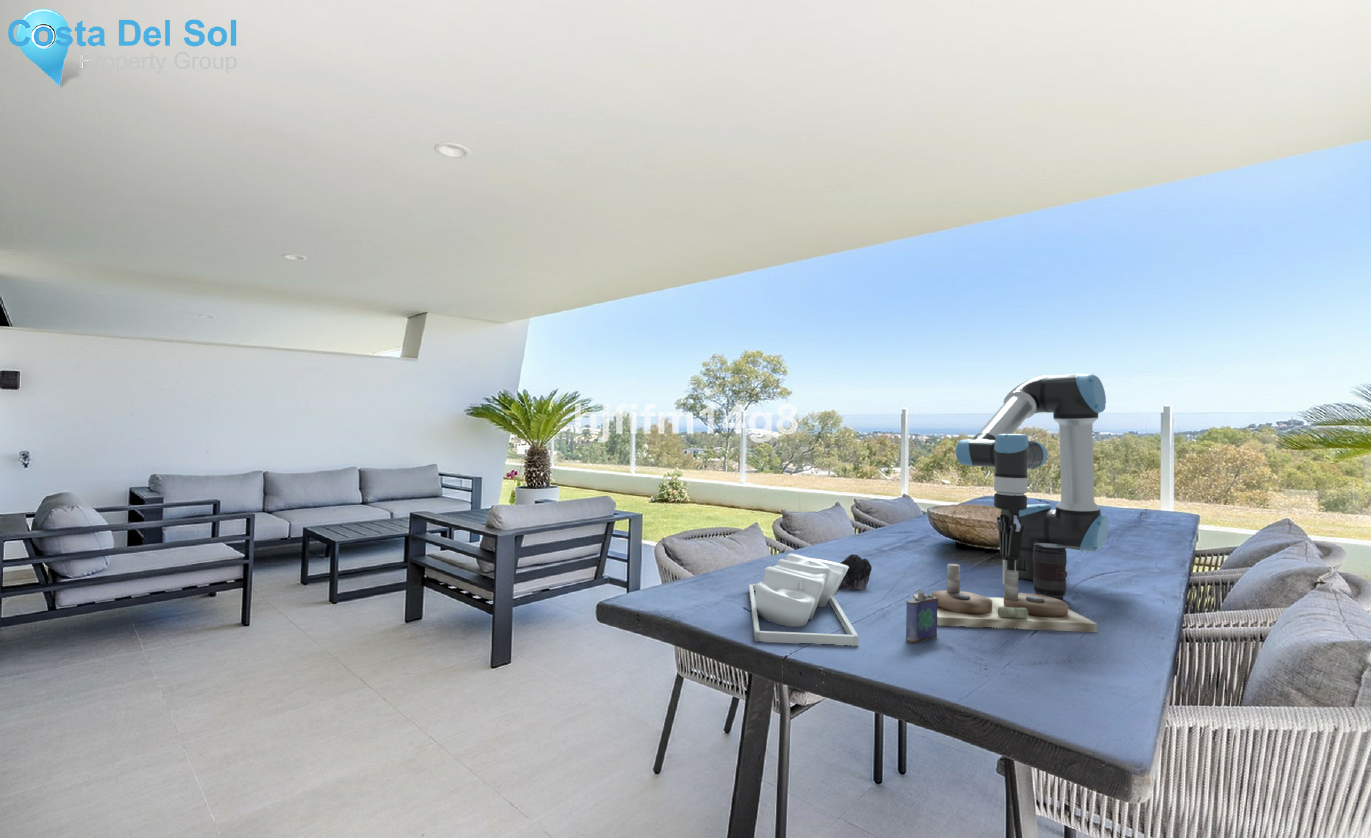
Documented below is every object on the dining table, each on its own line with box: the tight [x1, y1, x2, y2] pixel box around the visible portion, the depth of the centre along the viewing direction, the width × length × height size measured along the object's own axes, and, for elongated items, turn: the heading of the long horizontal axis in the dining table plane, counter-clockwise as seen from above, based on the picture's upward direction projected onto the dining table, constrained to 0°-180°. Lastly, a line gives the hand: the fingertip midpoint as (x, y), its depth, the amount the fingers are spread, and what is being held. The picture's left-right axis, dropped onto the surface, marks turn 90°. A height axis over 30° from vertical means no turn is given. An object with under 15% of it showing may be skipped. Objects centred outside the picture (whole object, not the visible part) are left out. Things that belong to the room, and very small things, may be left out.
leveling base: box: [912, 593, 1098, 633], centre depth 153 cm, size 36×20×4 cm, turn 86°
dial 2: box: [1003, 570, 1069, 616], centre depth 152 cm, size 14×14×9 cm
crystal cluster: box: [838, 554, 873, 590], centre depth 181 cm, size 13×14×10 cm
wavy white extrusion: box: [755, 553, 849, 628], centre depth 155 cm, size 35×16×11 cm, turn 147°
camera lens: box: [1032, 543, 1068, 601], centre depth 170 cm, size 8×8×15 cm
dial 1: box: [931, 563, 992, 613], centre depth 154 cm, size 14×14×9 cm
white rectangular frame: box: [748, 583, 860, 647], centre depth 151 cm, size 22×41×2 cm, turn 176°
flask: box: [905, 589, 938, 644], centre depth 135 cm, size 9×3×11 cm, turn 121°
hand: (1008, 584), depth 157 cm, fingers closed
